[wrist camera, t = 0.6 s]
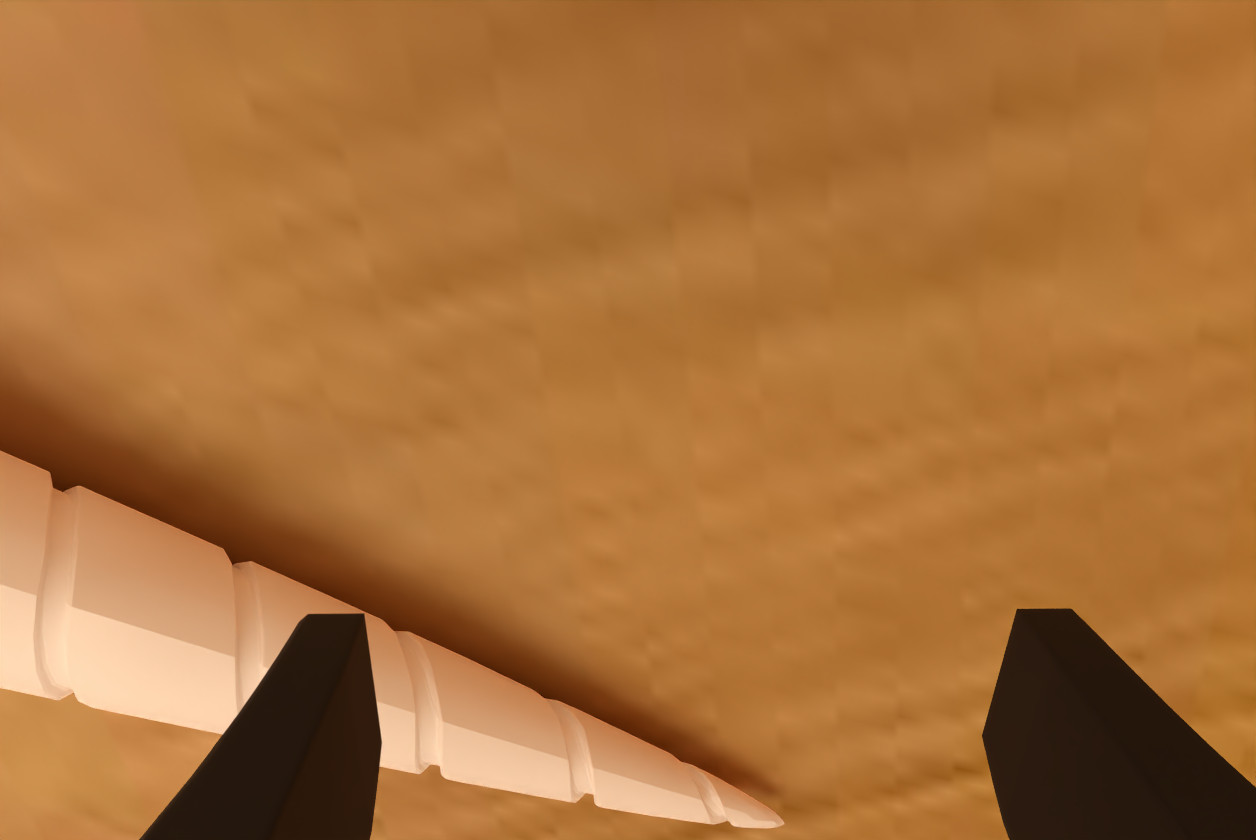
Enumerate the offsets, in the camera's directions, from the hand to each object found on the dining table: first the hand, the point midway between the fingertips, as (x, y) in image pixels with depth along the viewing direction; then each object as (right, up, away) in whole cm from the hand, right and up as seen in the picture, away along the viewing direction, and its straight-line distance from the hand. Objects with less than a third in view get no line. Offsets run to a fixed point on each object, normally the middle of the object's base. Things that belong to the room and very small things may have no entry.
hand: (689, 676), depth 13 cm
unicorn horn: (-8, -1, +12) cm, 15 cm away
